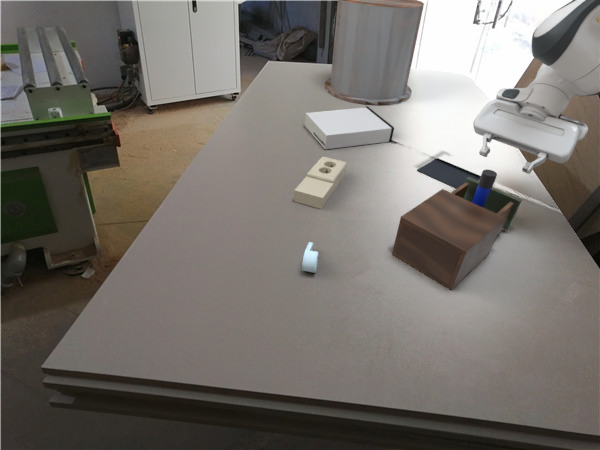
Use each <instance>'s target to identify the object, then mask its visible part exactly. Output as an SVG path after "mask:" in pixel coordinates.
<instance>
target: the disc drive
mask: <svg viewBox="0 0 600 450" xmlns="http://www.w3.org/2000/svg"><path fill="white" fill-rule="evenodd" d="M304 118H305V119H304V127H305V128H306V130H308V132H309V133H310V134H311V135H312V136H313V137H314V139H315V140H316V141H317V142H318V143H319V144H320V146H321V147H322V148H323V149H324V150H331V149H340V148H347V147H349V148H350V147H357V146H363V145H372V144H381V143H392V141H393V136H394V131H395V127H394V126H393V125H392V124H391V123H389V122H388V121H387V120H385V118H383V117H382V116H380V115H379V114H378V113H376V112H375V111H374V110H373V109H372V108H371V107H370V106H369V105H365V107H355V108H345V109H335V110H333V109H332V110H324V111H312V112H305V117H304Z"/></svg>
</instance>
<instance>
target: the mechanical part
mask: <svg viewBox="0 0 600 450" xmlns="http://www.w3.org/2000/svg"><path fill="white" fill-rule="evenodd" d="M318 262H319V251H315V250H314V242H311V241H308V243H307V245H306V247H305V250H304V253H303V258H302V266H301V271H302V272H308V273H314V274H315V273H317V267H318Z"/></svg>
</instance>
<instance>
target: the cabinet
mask: <svg viewBox="0 0 600 450" xmlns="http://www.w3.org/2000/svg"><path fill="white" fill-rule="evenodd" d="M503 220H504V217H502V216H500V215H498V214H496V213H494V212H491V211H489V210H487V209H485V208H483V207H481V206H478V205H476V204H474V203H472V202H470V201H468V200H465V199H463V198H461V197H459V196H457V195H454V194H452V193H451V192H450V191H447V190H446V189H444V188H442V189H440V190H439V191H437V192H436V193H434V194H433V195H431V196H430V197H428V198H427V199H425V200H423V201H422V202H420V203H419V204H417V205H416V206H415V207H413V208H412V209H410V210H409V211H407V212H406V213H403V215H401V216H400V219H399V223H398V227H397V230H396V231H397V232H396V234H395V235H396V236H395V239H394V244H393V247H392V251H391V255H392V256H394V257H395V258H397V259H399V260H400V261H402V262H403V263H405V264H407V265H409V266H410V267H412V268H414V269H415V270H417V271H418V270H419V271H418V272H420V273H422V274H423V275H425V276H426V277H428V278H430V279H432V280H433V281H435V282H437V283H438V282H439V283H438V284H440V285H442V287H444V288H446V287H447V288H446V289H448V288H449V289H448V290H450V289H451V290H450V291H452V290H454V288H456V286H457V285H459V283H461V282H462V281H463V280H464V279H465V278H466V277H467V276H468V275H469V274H470V273H471V272H472V271H473V270H474V269H475V268H476V267H477V266H478V265H479V264H480V263H481V262H482V261H484V259H485V258H486V257H487V256H488V255H489V254H490V251H491V250H492V248H493V247H492V246H493V245H494V242H495V241H496V238H497V235H498V234H499V233H498V231H499V229H500V226H501V224H502V222H503ZM497 233H498V234H497ZM471 270H472V271H471ZM470 271H471V272H470ZM469 272H470V273H469ZM468 273H469V274H468ZM467 274H468V275H467ZM466 275H467V276H466ZM465 276H466V277H465ZM464 277H465V278H464Z"/></svg>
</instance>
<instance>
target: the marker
mask: <svg viewBox="0 0 600 450" xmlns="http://www.w3.org/2000/svg"><path fill="white" fill-rule="evenodd" d="M480 176H481V177H480V180H479V183H478V187H477V190H476V192H475V195H474V198H473V200H472V203H474V204H476V205H478V206H481V207H483V208H484V206H485V203H486V201H487V198H488V196H489V193H490V190H491V188H492V187H494V184H495V182H496V179H497V176H498V173H497V172H496V171H494V170H492V169H484V170H482V172H481V175H480Z"/></svg>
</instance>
